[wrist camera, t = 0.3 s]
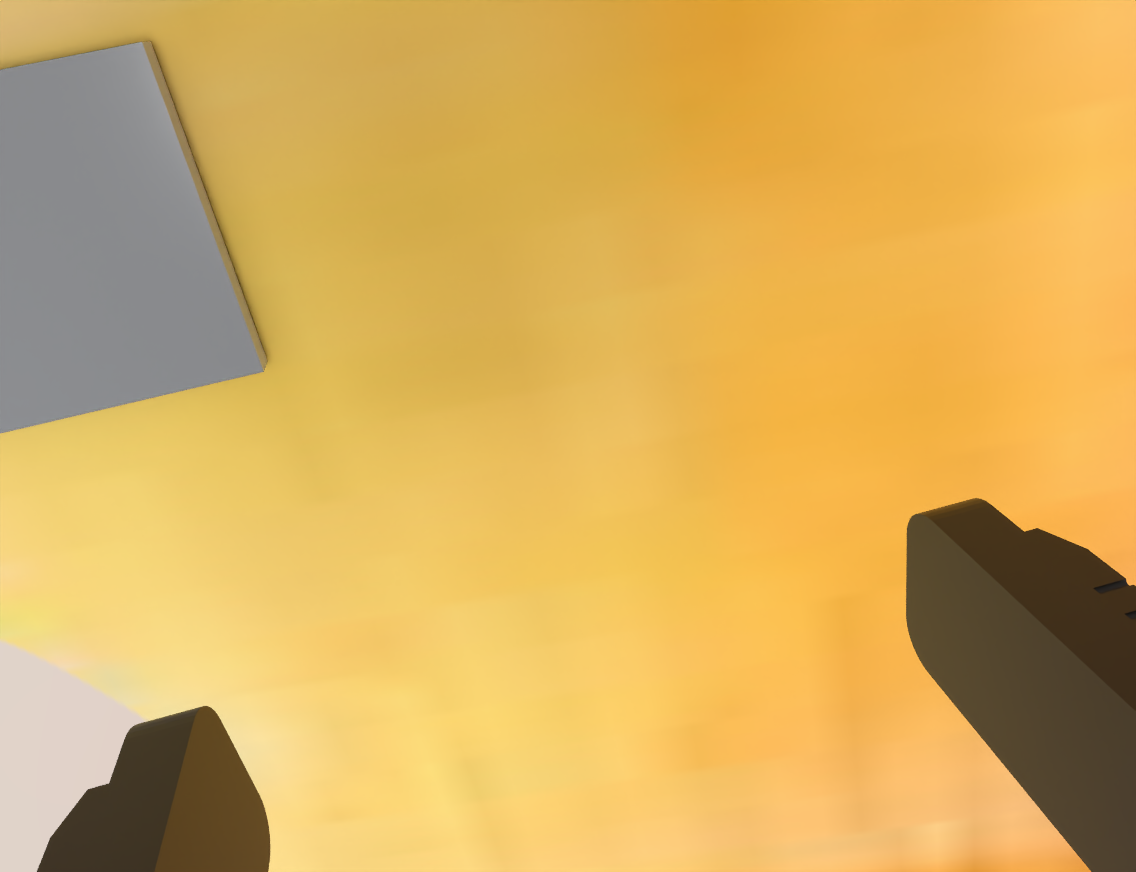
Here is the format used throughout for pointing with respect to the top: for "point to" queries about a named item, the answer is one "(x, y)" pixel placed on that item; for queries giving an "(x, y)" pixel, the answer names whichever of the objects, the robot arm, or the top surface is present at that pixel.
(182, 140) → the plate
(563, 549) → the top surface
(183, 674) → the top surface
